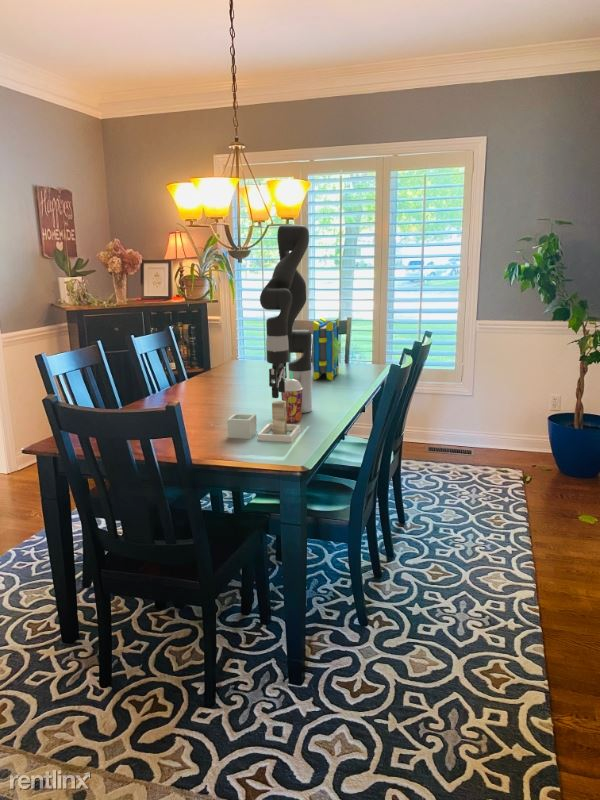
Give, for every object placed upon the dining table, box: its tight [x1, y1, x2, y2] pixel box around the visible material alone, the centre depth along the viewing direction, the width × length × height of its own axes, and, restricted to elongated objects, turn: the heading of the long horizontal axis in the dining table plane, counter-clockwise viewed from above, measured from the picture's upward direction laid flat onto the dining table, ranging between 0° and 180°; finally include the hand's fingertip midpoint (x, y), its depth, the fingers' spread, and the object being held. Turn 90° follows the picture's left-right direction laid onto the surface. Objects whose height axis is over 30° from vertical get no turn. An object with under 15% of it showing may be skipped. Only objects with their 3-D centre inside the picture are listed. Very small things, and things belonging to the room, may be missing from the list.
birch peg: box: [271, 400, 288, 435], centre depth 205 cm, size 4×4×12 cm
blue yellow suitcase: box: [312, 317, 341, 382], centre depth 306 cm, size 14×23×30 cm, turn 166°
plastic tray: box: [256, 423, 302, 443], centre depth 206 cm, size 14×12×3 cm
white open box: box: [226, 413, 258, 440], centre depth 206 cm, size 8×8×8 cm
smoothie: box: [280, 371, 303, 424], centre depth 222 cm, size 8×8×20 cm
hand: (278, 394), depth 203 cm, fingers open, 8 cm apart
